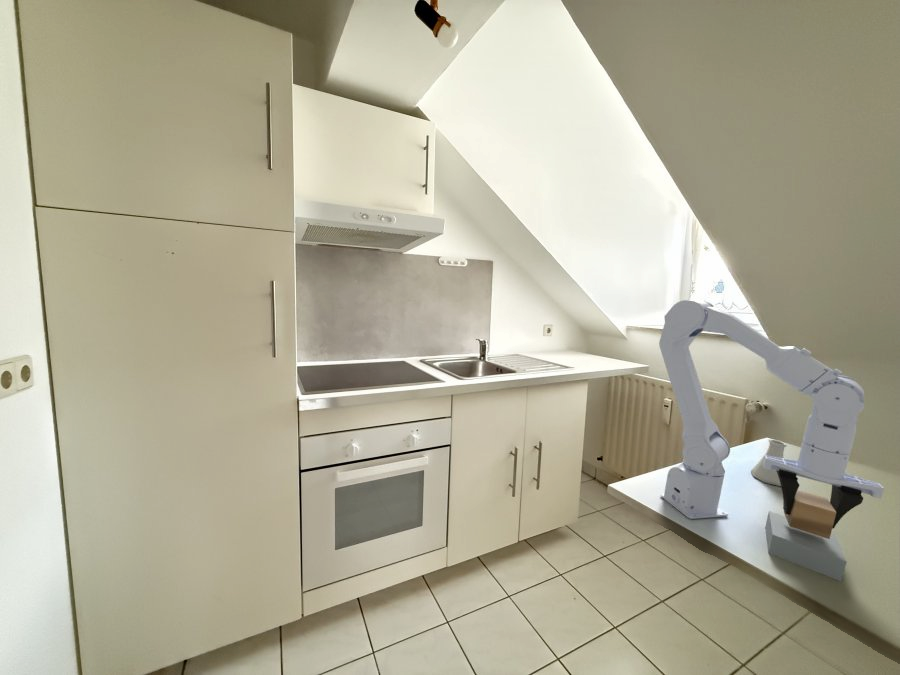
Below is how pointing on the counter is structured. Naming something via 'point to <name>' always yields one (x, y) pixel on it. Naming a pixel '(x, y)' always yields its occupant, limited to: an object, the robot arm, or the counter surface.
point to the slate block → (804, 547)
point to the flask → (764, 474)
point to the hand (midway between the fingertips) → (807, 518)
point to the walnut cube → (812, 514)
